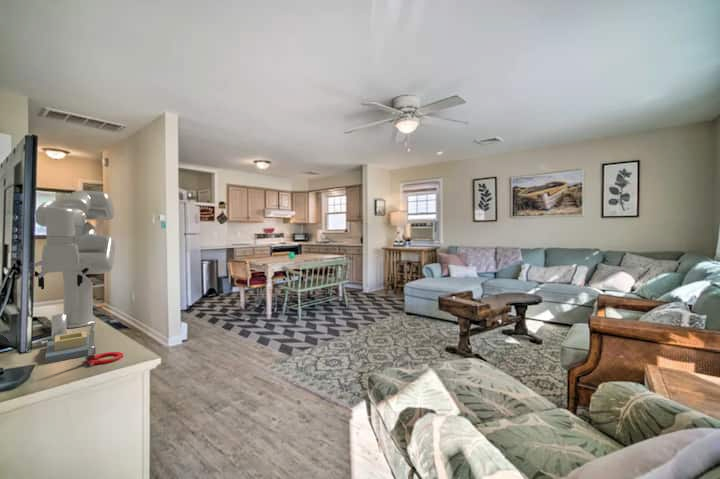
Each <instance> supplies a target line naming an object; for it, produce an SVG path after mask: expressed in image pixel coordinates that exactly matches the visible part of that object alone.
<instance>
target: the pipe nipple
mask: <svg viewBox="0 0 720 479" xmlns="http://www.w3.org/2000/svg"><path fill="white" fill-rule="evenodd" d="M67 330H68V328H67V314H64V313H59V314H53V315H51V341H55V336H57V335H64V334H68V333H67Z"/></svg>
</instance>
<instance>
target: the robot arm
mask: <svg viewBox="0 0 720 479" xmlns="http://www.w3.org/2000/svg"><path fill="white" fill-rule="evenodd" d="M35 212H36V221H35V223H36V224H37V225H38V226H40V227H45V228H46V230H45V231H46V234H45V236H46V238H45V241H46V244H43V246H42V250H41V260H39V261H37V262H35V267H34V268H37V267H39V266H41V267H40V268H41V271H40V272H37V271H36V270H35V275H33V277H35V278H37V280H38V281H37V284H38V285H37V286H38V288H40V290H44V289H45V277H44V276H45V275H46V274H47V273H62V279H63V280H62V281H63V314H67V329H72V328H81V327H86V326H91V323H92V322H94V324H96V323H97V322H98V318H96V317H94V316H93V315H94V314H93V311H94V310H93V307H94V306H93V305H94V302H93V301H94V300H93V293H94V292H93V288H94V287H93V285H94V284H93V282H92V281H91V279H90V278H89V277H88V276H86V275H94V274H95V275H97V274H98V275H99V274H102V275H103V274H107V273H110V272H111V271H112V269H113V266H114V258H115V248H116V247H115V246H116V245H115V244H116V243H115V240H114V238H113V236H110V235H107V234H98V229H97V228H96V227H95V226H94V225H93V224H92V223H91V222H90V221H88V220H91V221H92V220H93V221H95V220H96V221H109V220H112V219H114V217H115V216H116V215H115V214H116V210H115V206H114V204H113V200H112V199H111V196H110V195H109V194H108V193H107V192H104V191H94V190H75V191H73V192H71V193H70V194H69V195H68V196H66V198H60V199H56V200H50V201H49V200H48V201H45V202H43V203H42V204H40V205H39V206H38V207H37V209H36V210H35Z"/></svg>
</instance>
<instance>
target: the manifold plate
mask: <svg viewBox="0 0 720 479" xmlns="http://www.w3.org/2000/svg"><path fill="white" fill-rule="evenodd" d="M88 347H89V334H87V332H86V330H85V331H78V332H72V333H67V334H64V335H57V336H55V341H52V340H51V341H47V342H46V348H45V349H46V350H45V357H44V358H45V359H44V360H45V362H44V364H50V363H54V362H55V363H56V362H59V361H64V360H70V359H75V358H80V357H87V352H88ZM94 355H96V344H95V343H94Z"/></svg>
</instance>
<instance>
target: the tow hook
mask: <svg viewBox="0 0 720 479" xmlns="http://www.w3.org/2000/svg"><path fill="white" fill-rule="evenodd" d="M95 330H96V329H95V323H94V322H92V323H91V325H90V329H89V334H88V335H89V347H88V352H87V355H86V356H85V362H86V363H87V364H88V365H89V366H90V367H94V366H95V365H99V364H108V363H113V362H116V360H117V361H119V360H121V359H123V358H124V352H123V353H122V352H120V351H111V352H110V351H109V352H103V353H99V354H94V344H95ZM113 355H116V356H113ZM111 356H113V357H112V358H107V359H101V358H104V357H111ZM120 358H121V359H120Z"/></svg>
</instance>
